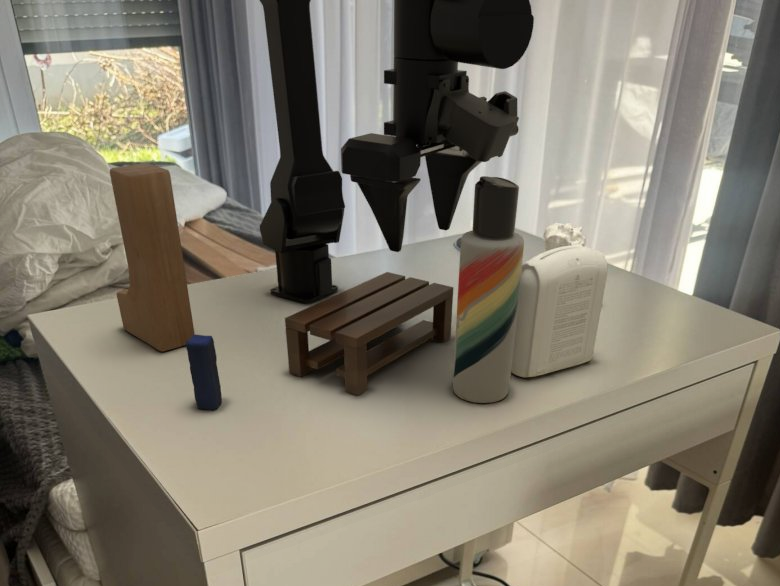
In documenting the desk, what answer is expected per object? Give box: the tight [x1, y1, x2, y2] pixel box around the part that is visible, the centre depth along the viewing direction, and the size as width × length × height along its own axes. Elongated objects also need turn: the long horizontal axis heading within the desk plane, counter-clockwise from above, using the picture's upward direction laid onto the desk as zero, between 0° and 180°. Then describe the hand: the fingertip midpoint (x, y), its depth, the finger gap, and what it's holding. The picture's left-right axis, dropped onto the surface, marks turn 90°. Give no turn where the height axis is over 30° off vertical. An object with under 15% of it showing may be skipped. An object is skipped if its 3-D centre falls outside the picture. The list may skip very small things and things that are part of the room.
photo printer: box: [511, 245, 609, 378], centre depth 80 cm, size 10×4×12 cm, turn 123°
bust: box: [542, 221, 587, 252], centre depth 94 cm, size 12×8×11 cm
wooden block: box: [109, 162, 196, 353], centre depth 83 cm, size 9×4×18 cm, turn 43°
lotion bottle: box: [452, 175, 525, 404], centre depth 72 cm, size 6×6×20 cm
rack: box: [284, 271, 454, 396], centre depth 83 cm, size 9×18×6 cm, turn 146°
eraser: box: [185, 334, 223, 411], centre depth 73 cm, size 2×2×7 cm
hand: (420, 239), depth 77 cm, fingers open, 9 cm apart
